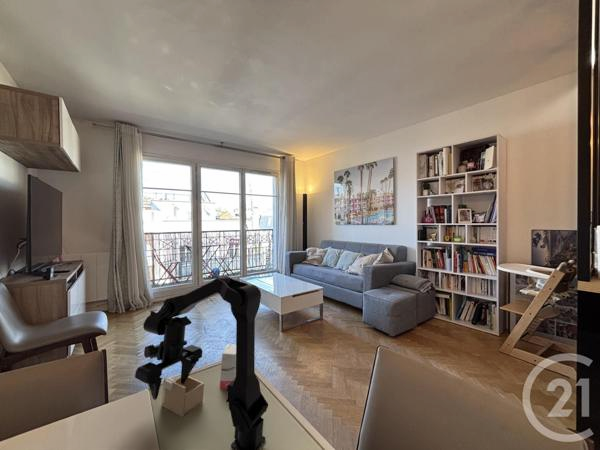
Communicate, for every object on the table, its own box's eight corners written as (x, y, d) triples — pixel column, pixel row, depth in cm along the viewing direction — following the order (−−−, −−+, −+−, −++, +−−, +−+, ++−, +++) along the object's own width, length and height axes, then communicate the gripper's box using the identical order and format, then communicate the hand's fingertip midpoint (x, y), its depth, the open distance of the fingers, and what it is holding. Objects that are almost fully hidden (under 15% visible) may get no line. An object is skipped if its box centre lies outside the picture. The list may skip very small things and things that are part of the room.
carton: (202, 402, 78) (204, 383, 79) (184, 415, 72) (185, 394, 73) (183, 393, 82) (184, 374, 83) (164, 404, 76) (165, 384, 77)
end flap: (184, 414, 73) (187, 386, 73) (180, 417, 71) (182, 388, 72) (164, 403, 77) (167, 376, 77) (160, 406, 75) (162, 379, 76)
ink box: (233, 389, 86) (235, 354, 87) (218, 388, 86) (221, 353, 87) (238, 375, 95) (240, 343, 96) (225, 375, 95) (227, 343, 95)
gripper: (182, 324, 88) (178, 369, 87) (126, 342, 71) (120, 398, 70) (205, 331, 83) (201, 379, 82) (150, 352, 66) (144, 413, 65)
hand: (169, 390), depth 75 cm, fingers open, 9 cm apart
